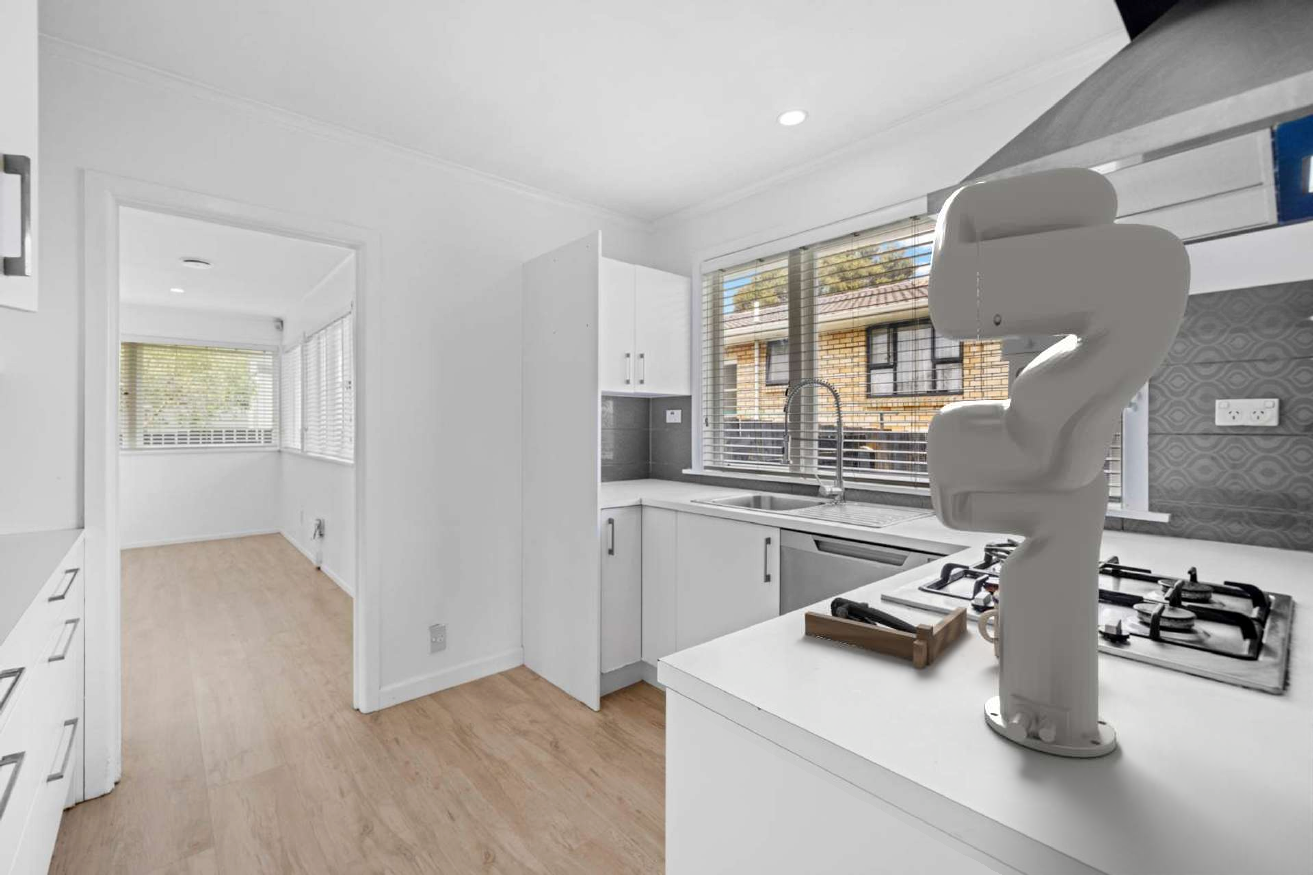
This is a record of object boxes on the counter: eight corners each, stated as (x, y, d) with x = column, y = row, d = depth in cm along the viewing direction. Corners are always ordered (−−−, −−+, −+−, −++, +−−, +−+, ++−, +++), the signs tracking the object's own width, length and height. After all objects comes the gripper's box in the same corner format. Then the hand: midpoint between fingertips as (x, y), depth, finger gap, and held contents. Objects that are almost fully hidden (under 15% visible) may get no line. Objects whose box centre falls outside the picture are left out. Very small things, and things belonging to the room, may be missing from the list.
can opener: (820, 628, 104) (820, 596, 104) (848, 621, 107) (848, 590, 107) (911, 662, 89) (910, 625, 88) (939, 652, 92) (939, 616, 92)
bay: (924, 669, 85) (924, 633, 85) (798, 637, 99) (798, 606, 99) (968, 628, 102) (968, 598, 101) (855, 606, 115) (855, 579, 115)
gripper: (1053, 341, 78) (1053, 482, 78) (1071, 350, 89) (1071, 474, 89) (988, 346, 83) (989, 479, 83) (1013, 354, 94) (1014, 472, 94)
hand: (1031, 476), depth 86 cm, fingers closed
